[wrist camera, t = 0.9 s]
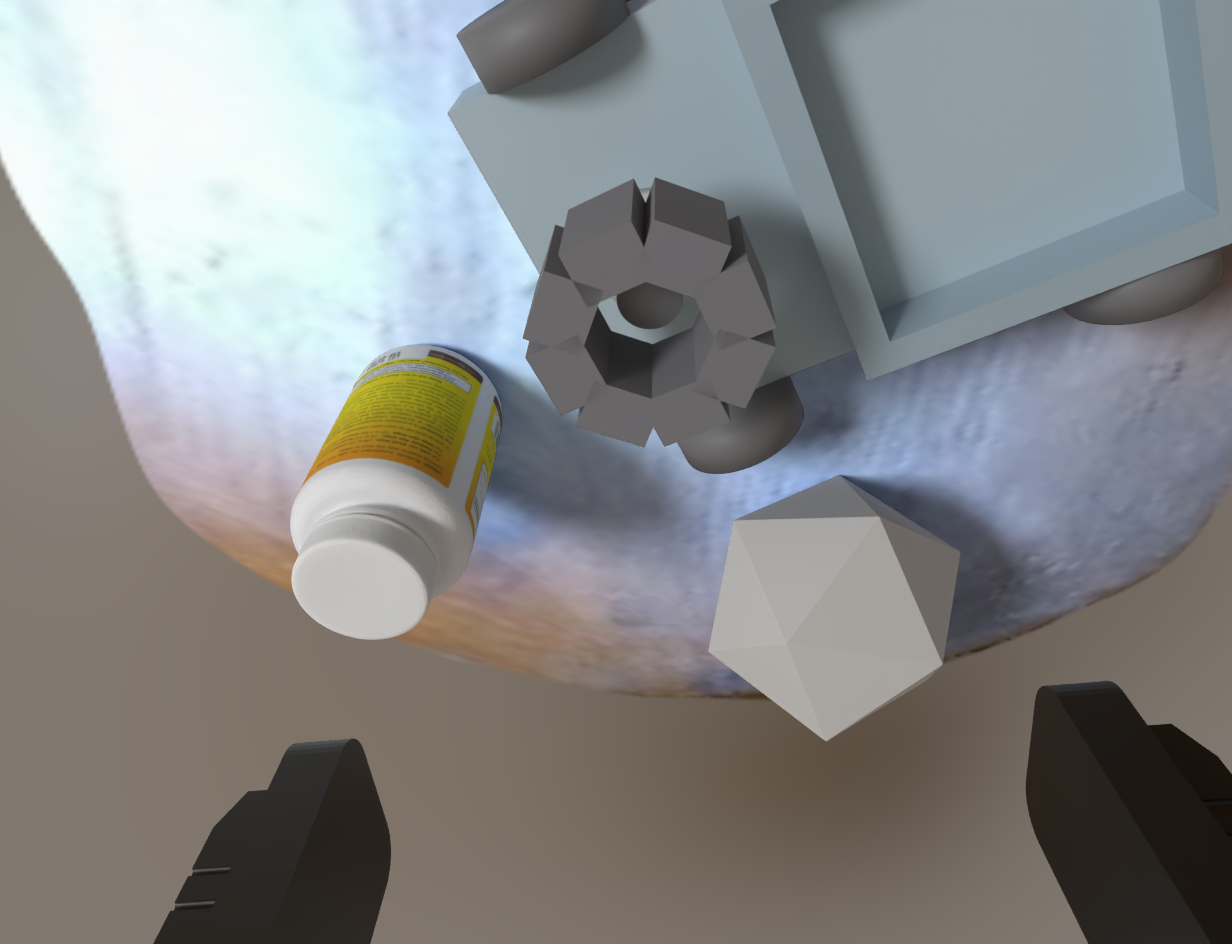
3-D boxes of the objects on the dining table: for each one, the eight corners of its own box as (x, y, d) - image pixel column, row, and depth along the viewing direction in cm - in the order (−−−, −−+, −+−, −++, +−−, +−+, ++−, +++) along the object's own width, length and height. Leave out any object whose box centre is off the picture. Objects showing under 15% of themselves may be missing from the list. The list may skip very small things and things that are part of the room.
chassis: (434, 39, 27) (381, 91, 22) (1160, -374, 21) (1317, -432, 16) (652, 431, 35) (651, 536, 30) (1226, 209, 29) (1345, 292, 24)
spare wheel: (500, 241, 24) (483, 289, 22) (708, 143, 23) (714, 182, 20) (601, 414, 27) (596, 472, 25) (791, 338, 26) (805, 392, 23)
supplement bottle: (328, 367, 33) (220, 549, 25) (461, 316, 32) (393, 492, 24) (405, 481, 36) (331, 678, 28) (530, 439, 35) (490, 633, 27)
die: (802, 633, 42) (991, 752, 34) (642, 659, 37) (819, 806, 29) (842, 454, 39) (1054, 535, 31) (677, 456, 34) (880, 553, 26)
